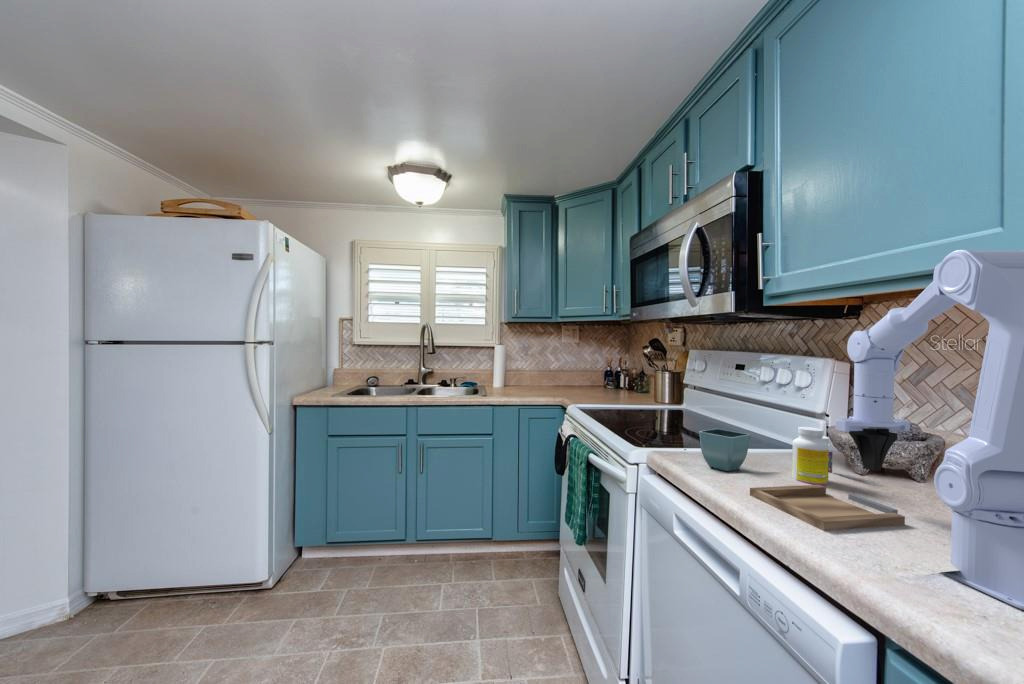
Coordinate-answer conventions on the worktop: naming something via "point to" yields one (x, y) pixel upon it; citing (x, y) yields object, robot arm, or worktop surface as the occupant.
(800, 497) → the wooden box
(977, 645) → the worktop surface
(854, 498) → the cover plate
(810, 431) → the supplement bottle
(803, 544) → the worktop surface
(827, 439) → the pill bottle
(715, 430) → the flower pot
